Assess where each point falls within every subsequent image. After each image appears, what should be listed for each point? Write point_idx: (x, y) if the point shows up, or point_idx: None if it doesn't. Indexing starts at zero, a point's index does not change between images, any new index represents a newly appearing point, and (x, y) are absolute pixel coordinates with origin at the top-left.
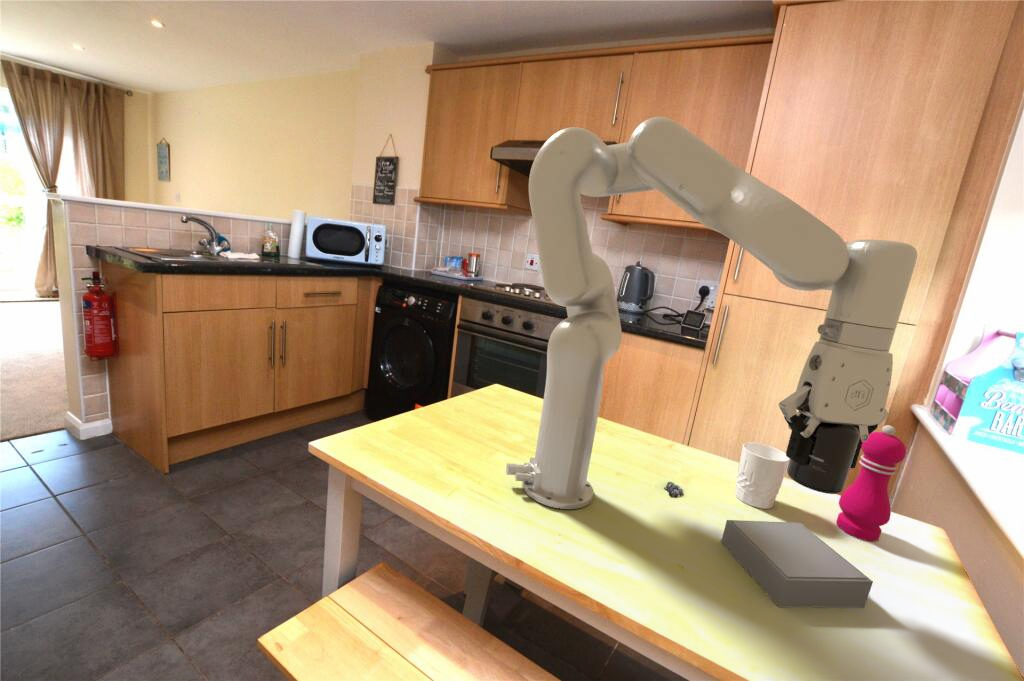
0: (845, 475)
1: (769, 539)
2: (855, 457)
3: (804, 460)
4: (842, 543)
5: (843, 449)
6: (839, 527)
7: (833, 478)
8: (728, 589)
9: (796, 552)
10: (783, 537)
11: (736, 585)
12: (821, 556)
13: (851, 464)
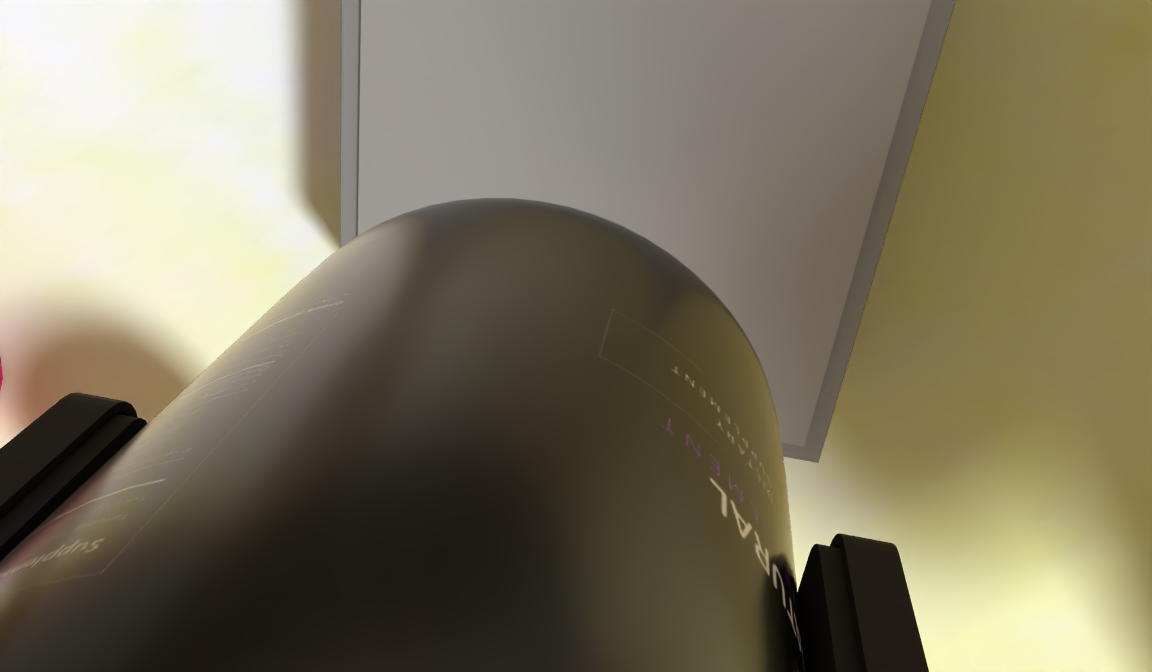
0: (372, 279)
1: (710, 274)
2: (8, 488)
3: (905, 586)
4: (87, 281)
5: (457, 556)
6: (2, 379)
7: (578, 277)
8: (1113, 80)
9: (641, 145)
10: None
11: (1032, 100)
12: (496, 91)
13: (105, 432)
